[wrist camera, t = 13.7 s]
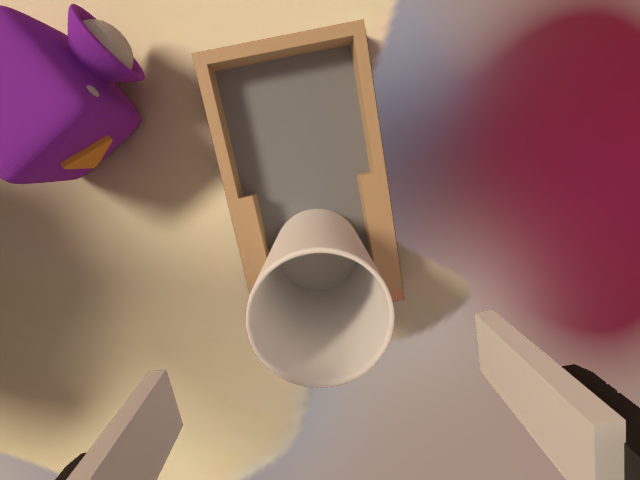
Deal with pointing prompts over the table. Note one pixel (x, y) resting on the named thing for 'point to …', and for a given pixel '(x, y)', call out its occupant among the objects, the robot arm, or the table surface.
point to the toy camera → (62, 96)
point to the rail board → (300, 139)
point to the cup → (319, 304)
